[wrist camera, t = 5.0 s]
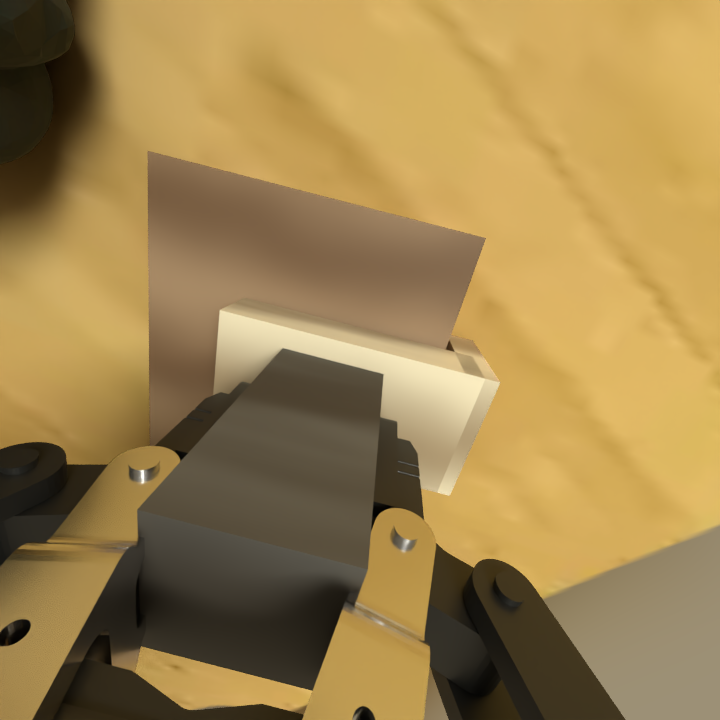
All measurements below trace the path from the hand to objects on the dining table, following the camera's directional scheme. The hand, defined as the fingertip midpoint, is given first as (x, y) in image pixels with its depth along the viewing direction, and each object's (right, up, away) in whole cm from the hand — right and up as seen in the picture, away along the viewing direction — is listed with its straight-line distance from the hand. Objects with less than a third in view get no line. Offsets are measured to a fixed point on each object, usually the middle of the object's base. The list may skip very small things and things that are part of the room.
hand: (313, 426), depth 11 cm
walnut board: (-3, -4, +9) cm, 10 cm away
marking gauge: (+1, +2, +5) cm, 6 cm away
